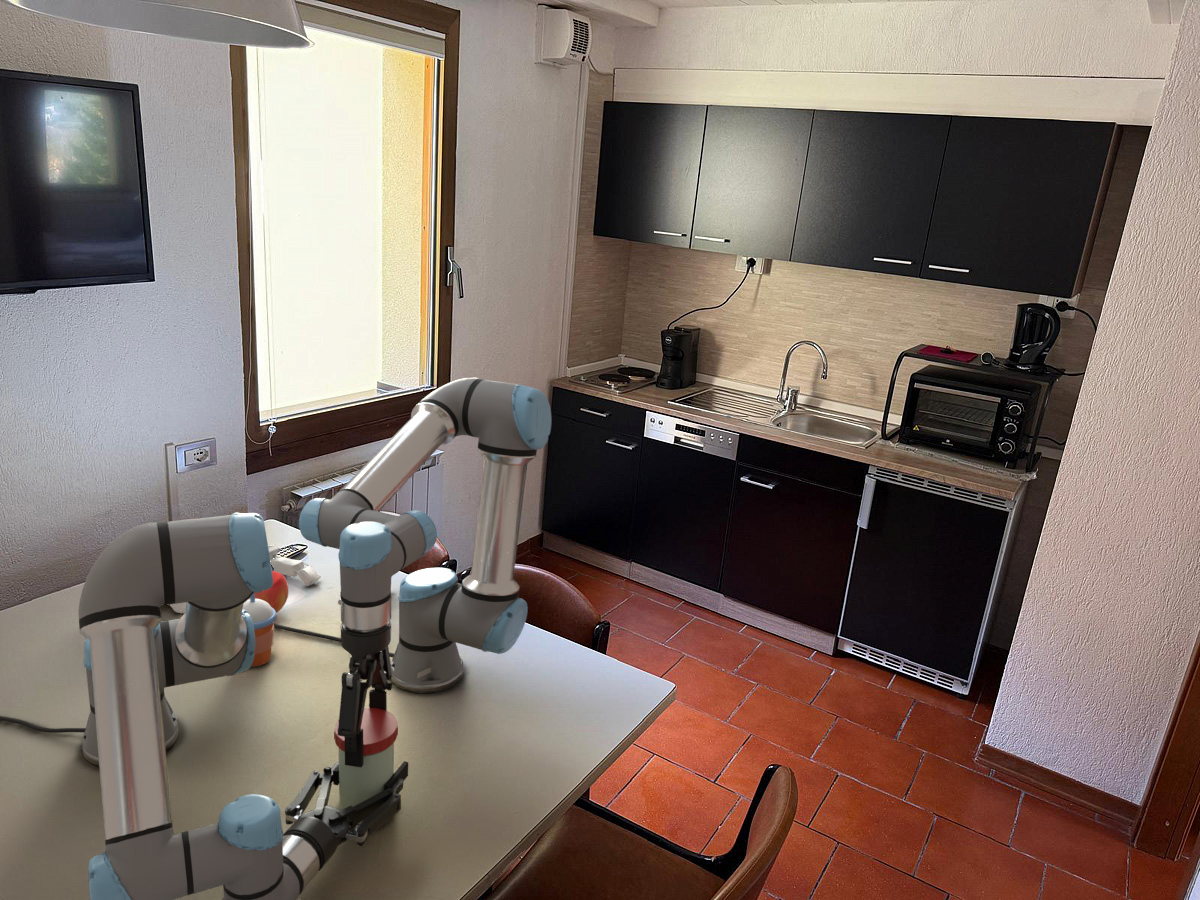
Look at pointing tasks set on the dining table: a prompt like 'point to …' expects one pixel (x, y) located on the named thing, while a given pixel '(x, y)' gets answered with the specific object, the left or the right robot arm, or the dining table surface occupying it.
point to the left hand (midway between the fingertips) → (381, 761)
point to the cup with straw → (261, 628)
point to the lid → (373, 731)
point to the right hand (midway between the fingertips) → (366, 744)
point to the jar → (364, 777)
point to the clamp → (292, 567)
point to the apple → (275, 592)
